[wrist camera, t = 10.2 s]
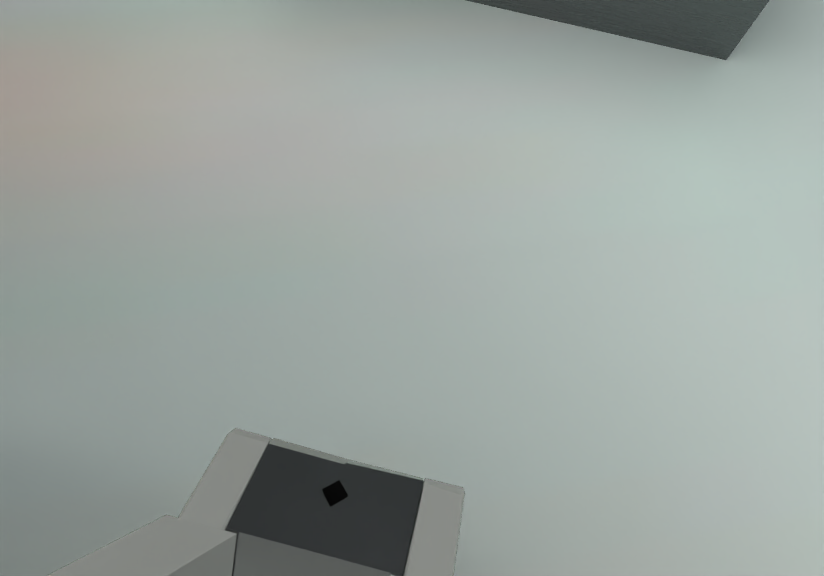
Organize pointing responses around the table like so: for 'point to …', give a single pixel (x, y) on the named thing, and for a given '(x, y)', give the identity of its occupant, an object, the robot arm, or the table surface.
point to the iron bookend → (653, 19)
